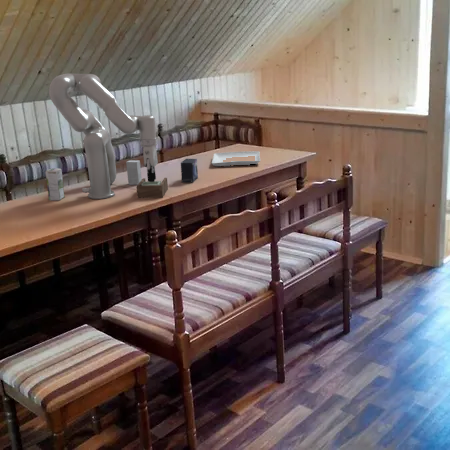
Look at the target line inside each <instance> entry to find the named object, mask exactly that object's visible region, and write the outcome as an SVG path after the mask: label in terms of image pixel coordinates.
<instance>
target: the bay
mask: <svg viewBox="0 0 450 450" xmlns="http://www.w3.org/2000/svg"><path fill="white" fill-rule="evenodd" d="M143 182H147V181H146V178H142V180H141V181H140V183H139V184H138V185H135V187H136V196H137V197H136V198H137V199H160V198H161V199H163V198H164V196H165V195H166V193H167V191H168V190H169V185H168V177H164V178H163V179H162V180H161V184H160V185H149V186H141V184H142V183H143Z"/></svg>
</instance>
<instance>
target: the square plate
mask: <svg viewBox="0 0 450 450" xmlns="http://www.w3.org/2000/svg"><path fill="white" fill-rule="evenodd" d="M260 153H261V152H260V151H259V150H258V151H256V150H255V151H252V150H251V151H244V150H243V151H227V152H215V153H213V156H212V159H211V165H212V166H214V167H221V166H224V167H231V166H230V165H248V166H251V165H250V164H256V165H257V164H259V163H260V162H261V156H260ZM248 156H255V161H231V162H223V160H226V158H232V157H248Z"/></svg>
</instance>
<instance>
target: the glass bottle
mask: <svg viewBox="0 0 450 450" xmlns="http://www.w3.org/2000/svg"><path fill="white" fill-rule="evenodd" d="M108 135H109V141H108V143H107V144H106V145H105V148H106V153H107V159H108V168H109V177H110V185H111V184H113V183H114V182H115V181H116V179H117V167H116V156H115V150H114V147H113V144H112V140H111V136H110V133H109V132H108Z"/></svg>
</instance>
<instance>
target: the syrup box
mask: <svg viewBox="0 0 450 450" xmlns="http://www.w3.org/2000/svg"><path fill="white" fill-rule="evenodd" d="M45 178H46V186H47V188H46V189H47V196H48V201H61V200H63V199H64V198H65V189H64V181H63V173H62V168H58V167H57V168H56V167H54V168H49V169H47V170H45ZM62 198H63V199H62Z"/></svg>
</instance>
